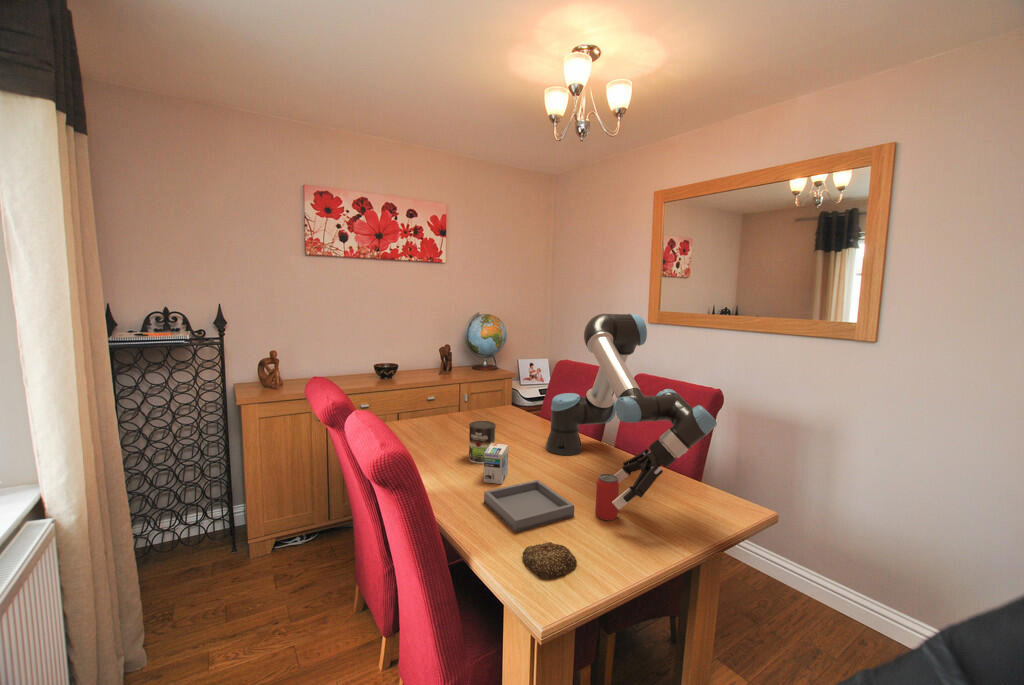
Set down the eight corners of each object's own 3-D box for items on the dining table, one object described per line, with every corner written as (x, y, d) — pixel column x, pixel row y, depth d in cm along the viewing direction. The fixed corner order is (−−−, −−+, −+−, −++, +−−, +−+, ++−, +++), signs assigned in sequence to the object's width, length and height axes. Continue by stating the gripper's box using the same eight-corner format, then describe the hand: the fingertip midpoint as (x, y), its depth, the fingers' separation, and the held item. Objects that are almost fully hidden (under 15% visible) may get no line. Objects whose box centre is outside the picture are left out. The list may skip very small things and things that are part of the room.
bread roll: (538, 584, 102) (539, 564, 101) (516, 555, 113) (517, 536, 113) (586, 571, 107) (587, 552, 107) (560, 544, 118) (561, 526, 118)
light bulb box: (501, 484, 153) (502, 454, 152) (482, 482, 155) (483, 452, 153) (508, 472, 164) (509, 444, 162) (490, 470, 165) (491, 442, 164)
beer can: (592, 510, 137) (594, 473, 135) (613, 510, 137) (615, 472, 136) (598, 521, 130) (600, 482, 129) (620, 521, 131) (622, 482, 129)
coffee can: (490, 465, 170) (491, 429, 168) (465, 462, 172) (465, 426, 171) (497, 455, 180) (498, 421, 178) (473, 453, 182) (474, 419, 181)
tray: (537, 489, 150) (538, 479, 150) (574, 516, 133) (574, 505, 132) (484, 502, 140) (484, 491, 140) (515, 532, 123) (516, 520, 123)
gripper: (689, 475, 117) (627, 526, 120) (665, 443, 141) (615, 486, 144) (669, 454, 117) (608, 505, 120) (649, 426, 141) (599, 469, 144)
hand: (612, 495), depth 132 cm, fingers open, 13 cm apart
